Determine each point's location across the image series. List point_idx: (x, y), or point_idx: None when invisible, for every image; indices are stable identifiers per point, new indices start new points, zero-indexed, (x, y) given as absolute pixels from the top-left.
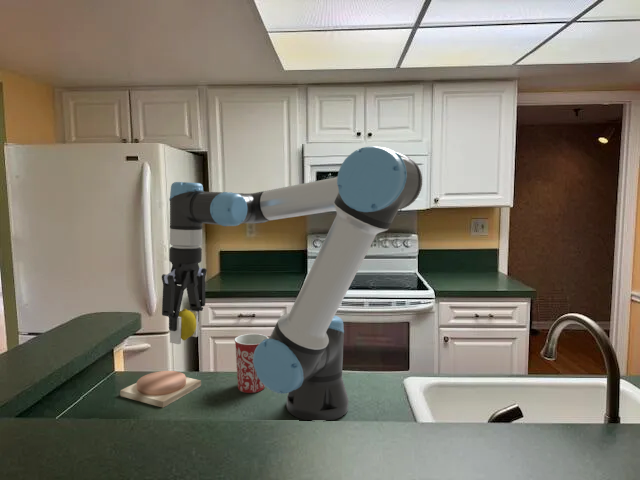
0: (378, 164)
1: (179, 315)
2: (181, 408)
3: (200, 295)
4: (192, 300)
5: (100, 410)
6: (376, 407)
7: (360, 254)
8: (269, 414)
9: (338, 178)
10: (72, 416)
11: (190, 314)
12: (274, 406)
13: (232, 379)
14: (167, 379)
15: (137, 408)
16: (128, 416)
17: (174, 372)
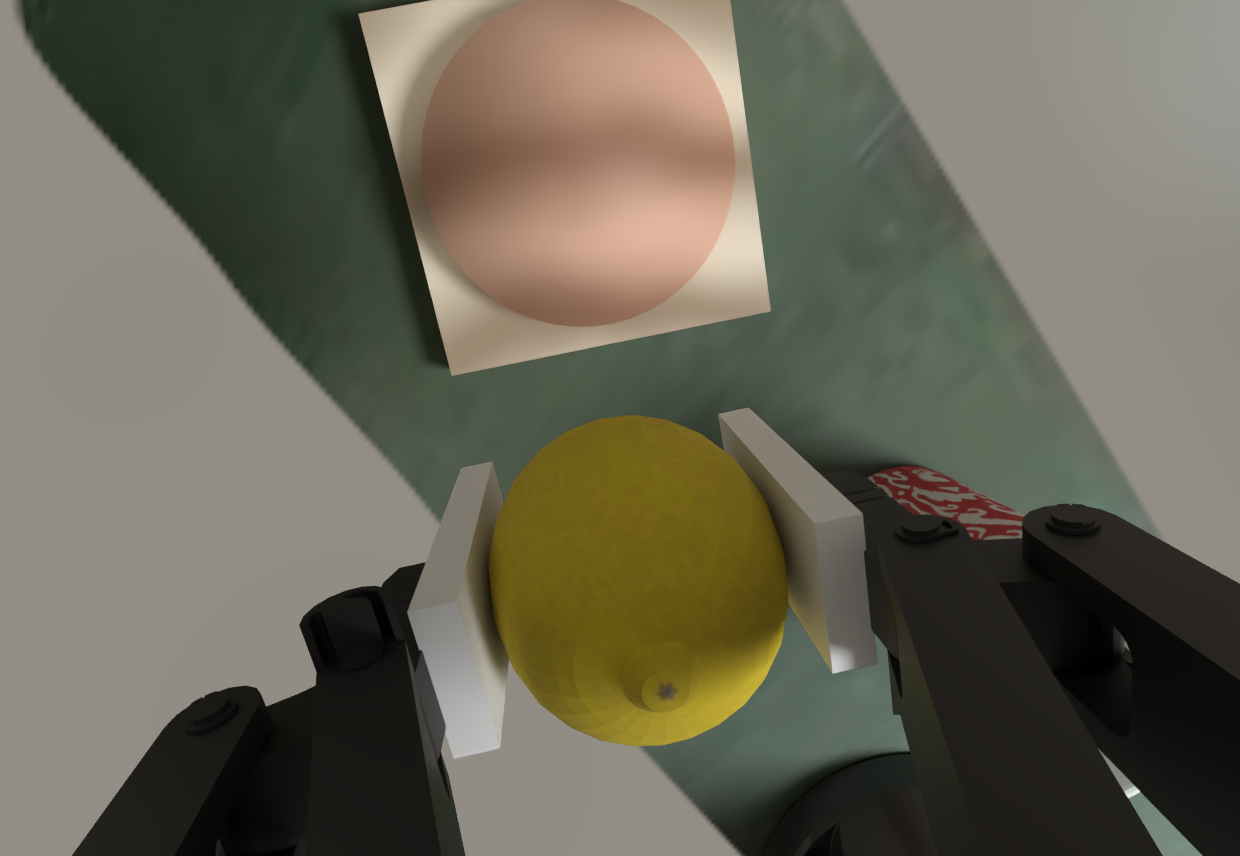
0: None
1: (535, 667)
2: (514, 447)
3: (1159, 775)
4: (917, 714)
5: (196, 114)
6: None
7: None
8: (722, 772)
9: None
10: (42, 50)
11: (668, 743)
12: (793, 742)
13: (926, 380)
14: (605, 198)
15: (358, 265)
16: (279, 310)
17: (710, 131)
